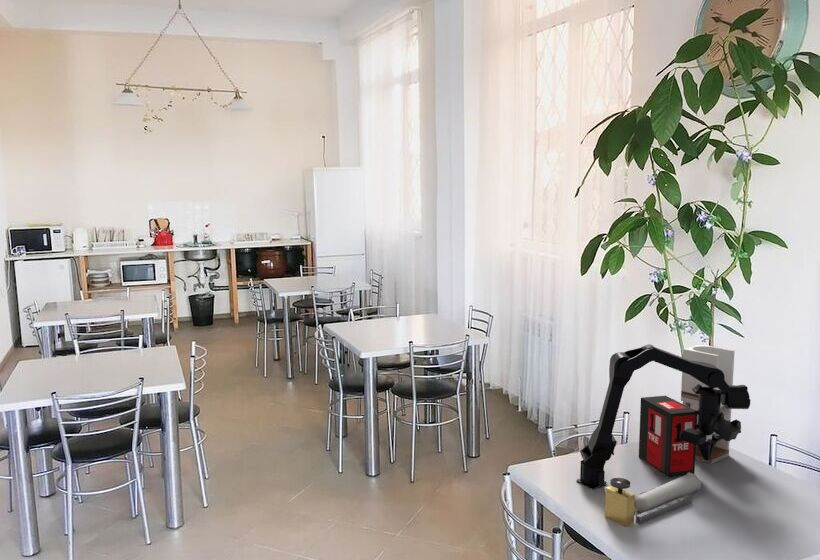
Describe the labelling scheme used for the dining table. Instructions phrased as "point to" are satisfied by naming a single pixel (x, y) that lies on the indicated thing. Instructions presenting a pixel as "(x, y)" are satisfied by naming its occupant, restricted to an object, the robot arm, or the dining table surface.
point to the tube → (668, 492)
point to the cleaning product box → (666, 435)
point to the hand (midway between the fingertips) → (706, 459)
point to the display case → (726, 365)
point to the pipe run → (623, 504)
